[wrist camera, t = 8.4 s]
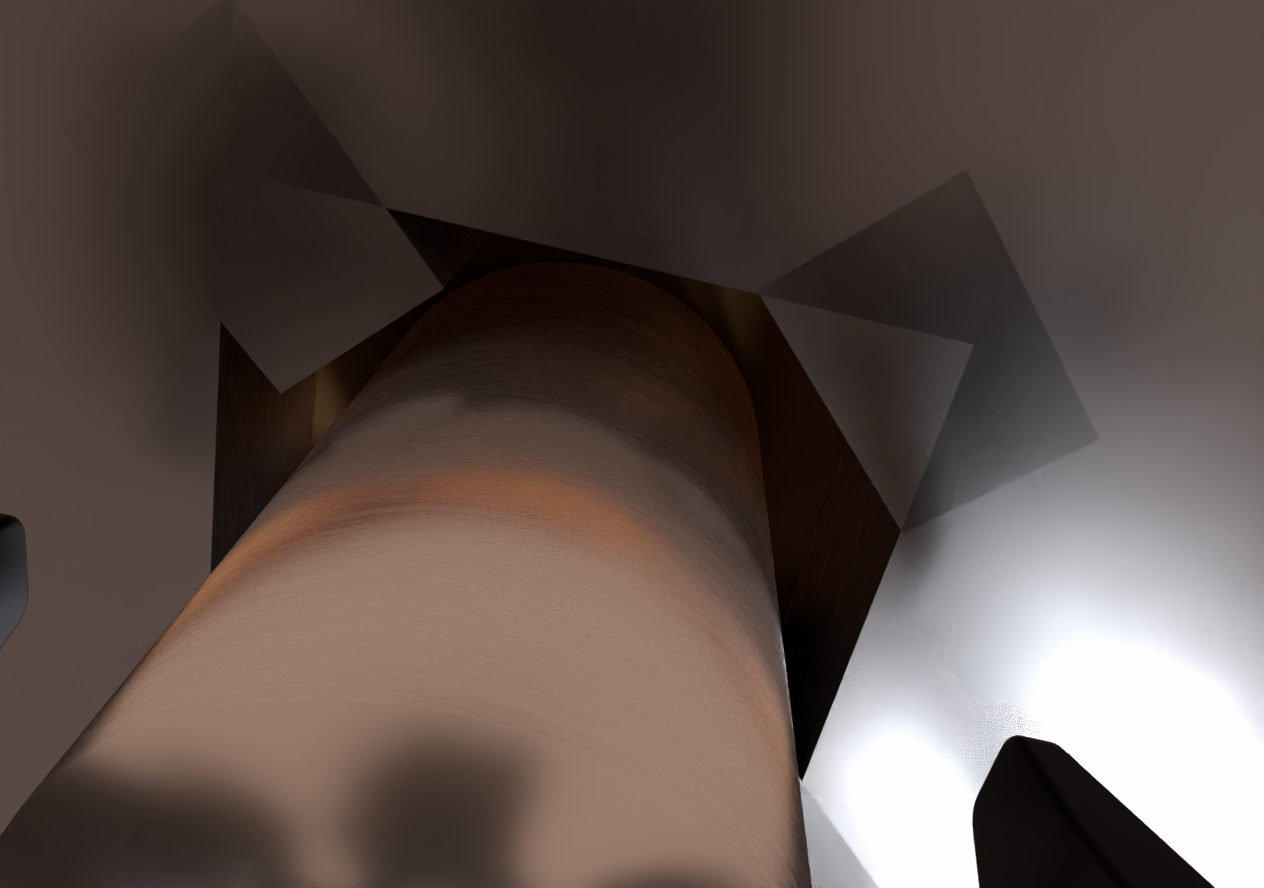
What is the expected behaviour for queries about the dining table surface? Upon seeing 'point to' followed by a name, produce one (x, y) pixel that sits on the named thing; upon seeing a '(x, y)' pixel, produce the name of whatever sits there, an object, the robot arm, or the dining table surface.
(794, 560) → the dining table surface
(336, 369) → the dining table surface
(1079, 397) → the duct plate
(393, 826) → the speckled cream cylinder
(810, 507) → the dining table surface
